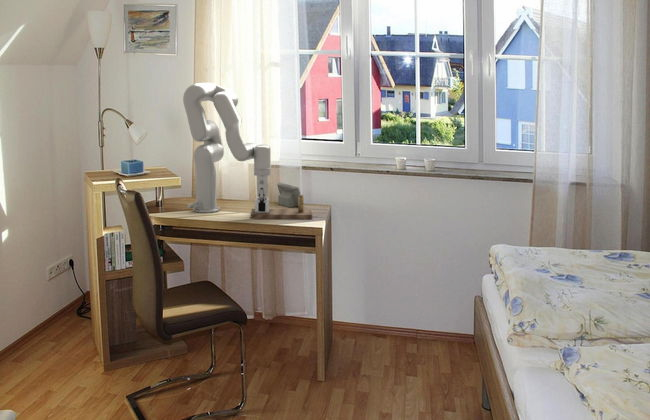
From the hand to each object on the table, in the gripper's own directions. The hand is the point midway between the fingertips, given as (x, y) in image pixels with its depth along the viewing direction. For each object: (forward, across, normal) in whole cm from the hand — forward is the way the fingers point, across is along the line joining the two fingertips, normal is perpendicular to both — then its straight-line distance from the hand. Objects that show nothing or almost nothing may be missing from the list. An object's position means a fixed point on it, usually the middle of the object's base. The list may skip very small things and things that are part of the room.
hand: (262, 209), depth 348 cm
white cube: (+1, 0, 0) cm, 1 cm away
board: (+3, 0, -9) cm, 10 cm away
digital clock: (+3, +25, -13) cm, 29 cm away
